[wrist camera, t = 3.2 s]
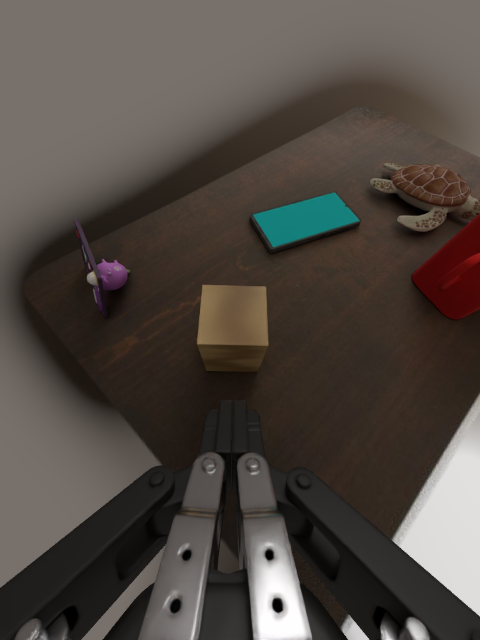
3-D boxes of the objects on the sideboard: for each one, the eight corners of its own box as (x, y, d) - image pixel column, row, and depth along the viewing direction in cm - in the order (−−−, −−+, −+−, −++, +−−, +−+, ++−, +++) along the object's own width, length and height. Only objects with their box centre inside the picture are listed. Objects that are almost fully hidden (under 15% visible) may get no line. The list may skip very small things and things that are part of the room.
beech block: (206, 371, 25) (196, 344, 18) (209, 324, 28) (202, 284, 21) (257, 372, 25) (268, 345, 18) (256, 325, 28) (265, 286, 21)
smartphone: (249, 214, 35) (335, 190, 38) (248, 219, 36) (333, 195, 39) (271, 250, 32) (362, 221, 35) (270, 254, 33) (360, 226, 36)
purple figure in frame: (65, 219, 25) (88, 280, 22) (118, 217, 28) (145, 271, 25) (77, 265, 30) (97, 321, 27) (121, 260, 33) (144, 310, 30)
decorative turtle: (455, 261, 33) (490, 233, 29) (349, 207, 38) (365, 176, 33) (486, 196, 40) (519, 165, 36) (393, 157, 44) (411, 125, 40)
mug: (447, 256, 34) (532, 184, 24) (497, 302, 31) (617, 240, 21) (381, 284, 31) (448, 216, 22) (428, 338, 28) (530, 286, 18)
